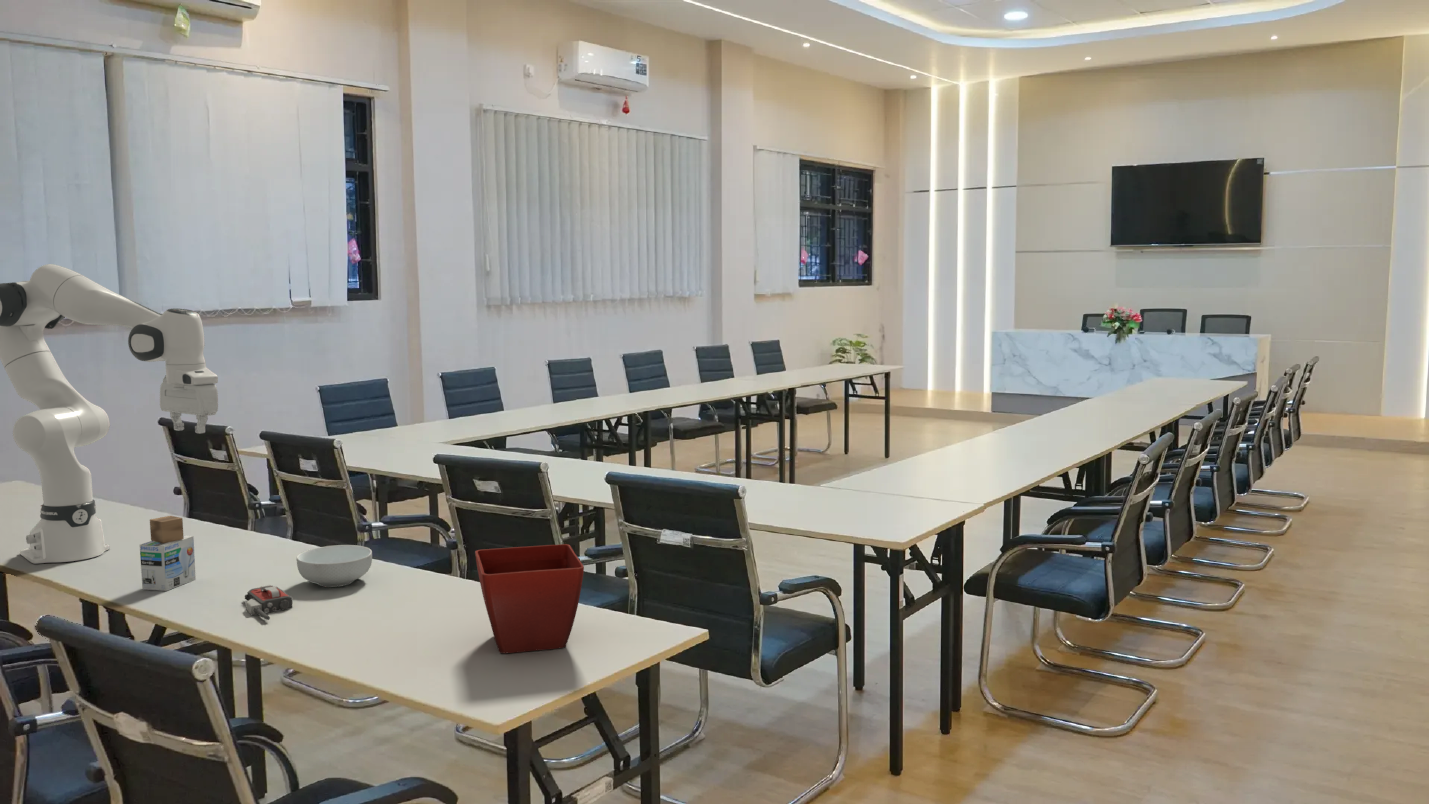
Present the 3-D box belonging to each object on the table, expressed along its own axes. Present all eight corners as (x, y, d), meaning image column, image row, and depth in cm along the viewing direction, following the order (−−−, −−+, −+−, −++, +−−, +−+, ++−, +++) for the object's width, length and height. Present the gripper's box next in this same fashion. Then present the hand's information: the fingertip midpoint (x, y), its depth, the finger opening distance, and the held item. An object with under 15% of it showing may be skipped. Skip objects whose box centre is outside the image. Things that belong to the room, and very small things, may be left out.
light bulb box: (166, 591, 249) (163, 545, 248) (140, 590, 250) (137, 544, 249) (197, 579, 259) (194, 535, 258) (172, 577, 261) (169, 533, 260)
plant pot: (586, 652, 207) (585, 566, 205) (484, 662, 202) (482, 574, 200) (570, 622, 225) (569, 543, 224) (476, 631, 220) (474, 549, 218)
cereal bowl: (281, 587, 252) (280, 557, 252) (335, 570, 267) (333, 542, 266) (336, 596, 245) (335, 565, 244) (388, 578, 260) (387, 549, 259)
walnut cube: (151, 540, 253) (149, 519, 253) (171, 536, 257) (170, 515, 257) (162, 543, 250) (161, 522, 250) (183, 539, 254) (182, 518, 254)
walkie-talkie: (235, 604, 241) (262, 626, 225) (234, 584, 240) (261, 605, 225) (276, 596, 246) (305, 617, 231) (275, 577, 246) (304, 597, 230)
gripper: (150, 374, 268) (154, 430, 269) (196, 378, 256) (200, 436, 258) (175, 372, 273) (179, 427, 274) (221, 376, 261) (225, 433, 263)
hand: (189, 431), depth 266 cm, fingers open, 8 cm apart
